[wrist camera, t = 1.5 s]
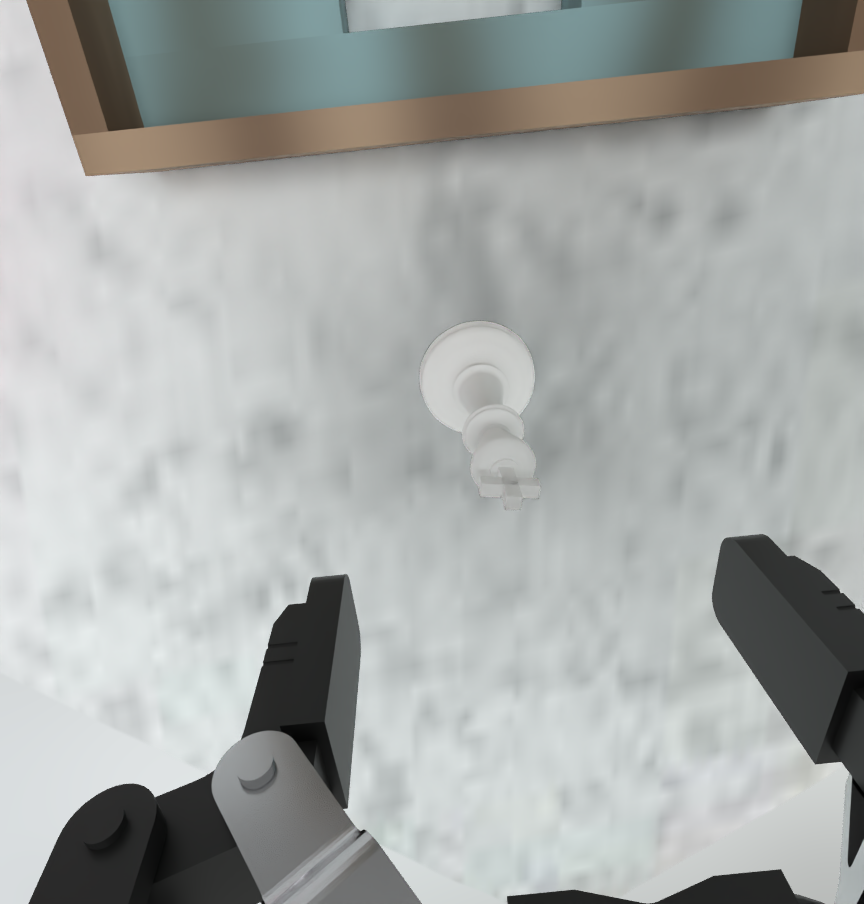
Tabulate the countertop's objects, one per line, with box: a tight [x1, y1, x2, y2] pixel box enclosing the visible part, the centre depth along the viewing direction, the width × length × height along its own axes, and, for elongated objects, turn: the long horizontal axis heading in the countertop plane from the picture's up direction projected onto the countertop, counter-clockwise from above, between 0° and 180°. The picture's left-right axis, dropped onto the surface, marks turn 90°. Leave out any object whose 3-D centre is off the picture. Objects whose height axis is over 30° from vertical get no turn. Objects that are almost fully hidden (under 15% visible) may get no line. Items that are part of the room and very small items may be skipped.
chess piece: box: [419, 321, 541, 510], centre depth 20 cm, size 5×5×10 cm
